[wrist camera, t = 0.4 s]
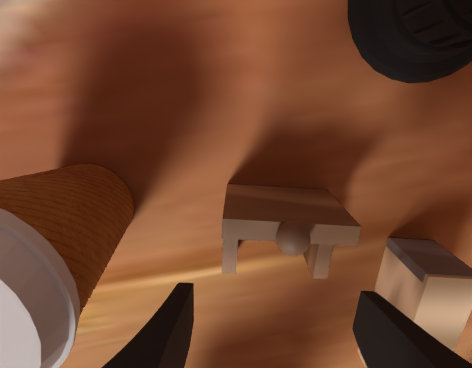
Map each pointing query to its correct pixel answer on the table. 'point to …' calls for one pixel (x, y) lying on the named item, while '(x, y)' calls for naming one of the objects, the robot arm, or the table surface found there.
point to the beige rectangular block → (426, 287)
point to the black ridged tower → (413, 36)
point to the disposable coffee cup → (54, 256)
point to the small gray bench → (286, 223)
